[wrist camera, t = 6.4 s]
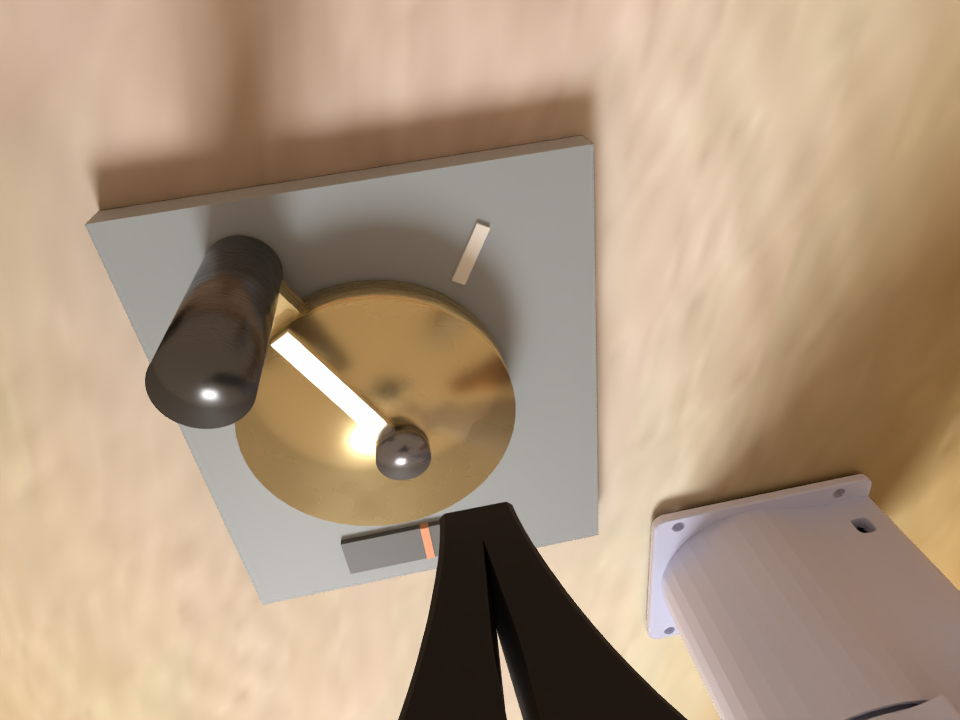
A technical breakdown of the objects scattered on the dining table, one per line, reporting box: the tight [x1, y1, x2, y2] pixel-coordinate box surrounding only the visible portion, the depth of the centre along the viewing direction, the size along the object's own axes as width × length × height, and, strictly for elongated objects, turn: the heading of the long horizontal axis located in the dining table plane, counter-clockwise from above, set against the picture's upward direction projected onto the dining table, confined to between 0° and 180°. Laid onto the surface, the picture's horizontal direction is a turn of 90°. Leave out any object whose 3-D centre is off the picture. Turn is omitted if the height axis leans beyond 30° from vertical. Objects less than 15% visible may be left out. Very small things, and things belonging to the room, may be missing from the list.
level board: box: [85, 135, 598, 605], centre depth 21 cm, size 13×15×1 cm
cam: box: [145, 235, 516, 526], centre depth 17 cm, size 10×8×6 cm
